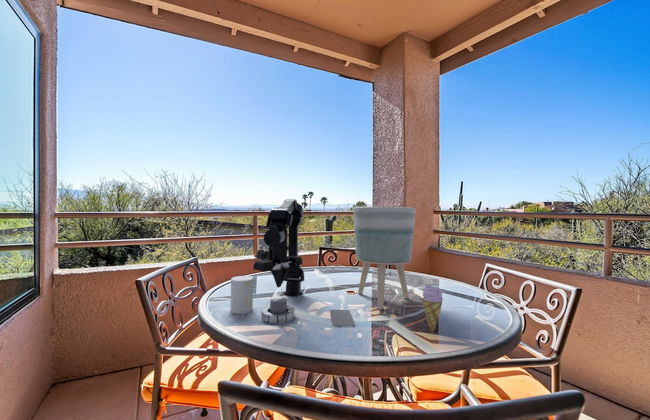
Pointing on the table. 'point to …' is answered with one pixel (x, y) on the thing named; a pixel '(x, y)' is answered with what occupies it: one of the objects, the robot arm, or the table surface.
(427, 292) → the ice cream cone
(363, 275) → the planter
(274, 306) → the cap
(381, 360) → the table surface
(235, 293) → the grey cylinder
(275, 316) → the segmented grey ring
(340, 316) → the smartphone
